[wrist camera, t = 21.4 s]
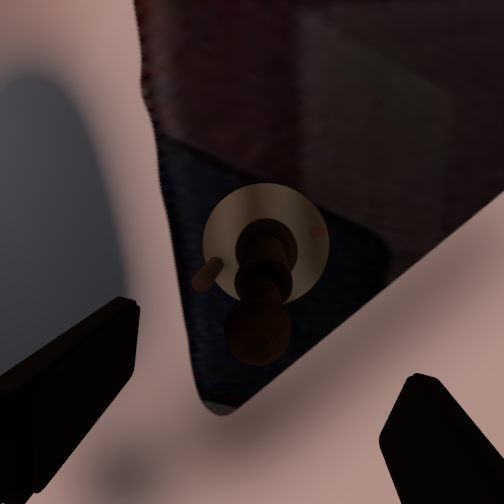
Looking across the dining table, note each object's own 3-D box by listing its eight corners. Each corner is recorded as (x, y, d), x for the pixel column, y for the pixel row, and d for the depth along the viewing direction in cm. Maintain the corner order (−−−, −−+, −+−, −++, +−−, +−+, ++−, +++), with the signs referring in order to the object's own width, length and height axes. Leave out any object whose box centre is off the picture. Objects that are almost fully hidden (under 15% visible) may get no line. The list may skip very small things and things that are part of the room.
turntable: (306, 164, 26) (318, 154, 19) (340, 282, 29) (362, 312, 22) (188, 208, 28) (159, 214, 21) (230, 313, 31) (217, 350, 24)
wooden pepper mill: (309, 251, 27) (374, 361, 10) (264, 286, 28) (250, 439, 11) (269, 205, 26) (260, 234, 9) (225, 244, 28) (143, 336, 10)
